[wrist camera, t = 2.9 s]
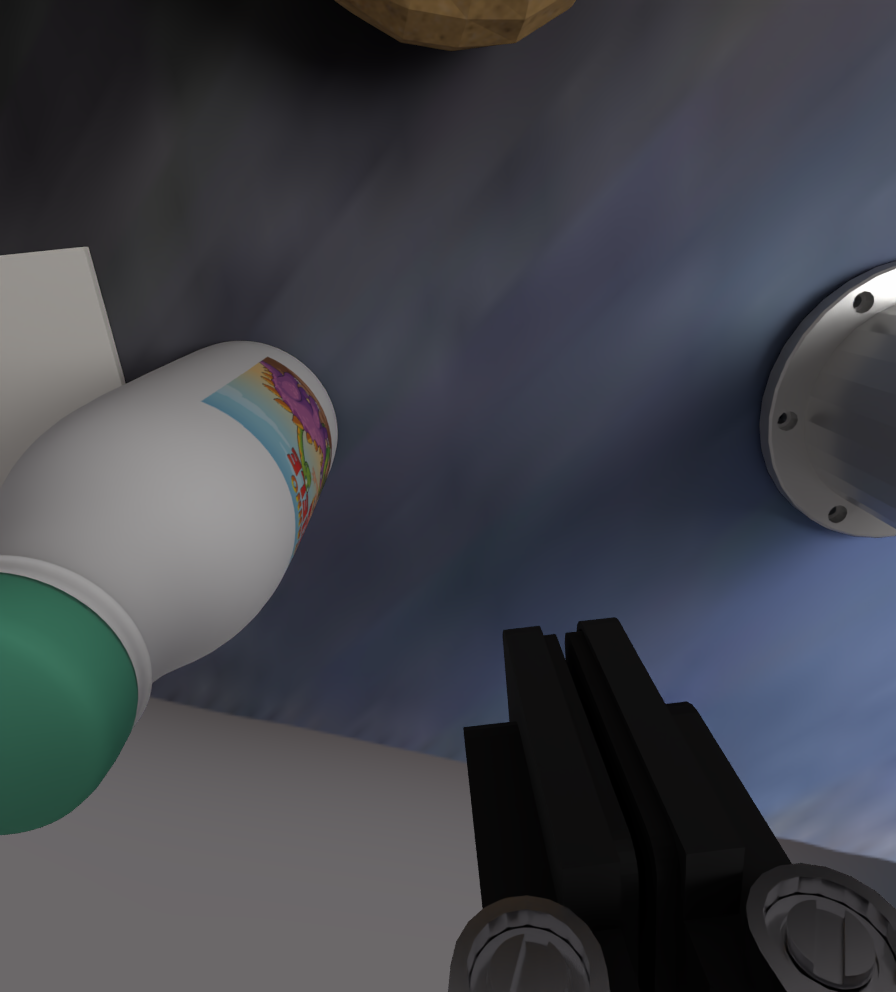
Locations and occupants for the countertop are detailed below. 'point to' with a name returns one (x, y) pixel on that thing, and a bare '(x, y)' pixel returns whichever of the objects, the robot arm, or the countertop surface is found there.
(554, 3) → the potato
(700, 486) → the countertop surface
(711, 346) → the countertop surface
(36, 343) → the pad
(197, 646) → the milk bottle
